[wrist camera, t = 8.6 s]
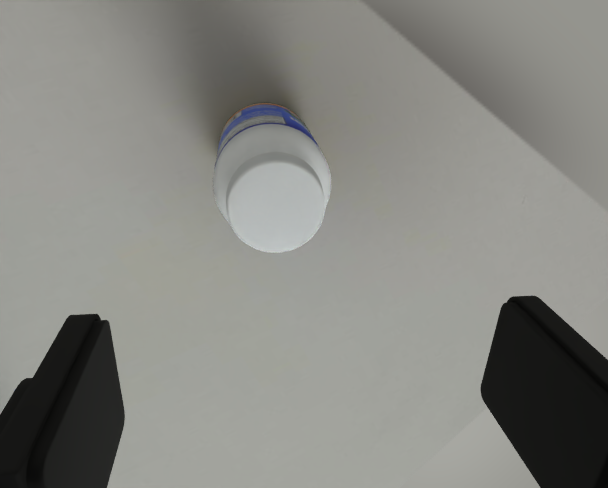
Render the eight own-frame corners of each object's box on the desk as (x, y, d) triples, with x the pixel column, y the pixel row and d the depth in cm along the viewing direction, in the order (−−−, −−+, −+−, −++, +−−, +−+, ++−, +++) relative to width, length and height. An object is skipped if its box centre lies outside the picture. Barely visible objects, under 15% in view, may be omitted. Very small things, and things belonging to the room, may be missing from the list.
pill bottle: (321, 175, 28) (359, 246, 20) (237, 203, 28) (238, 286, 20) (295, 87, 26) (325, 122, 17) (203, 118, 26) (187, 169, 17)
